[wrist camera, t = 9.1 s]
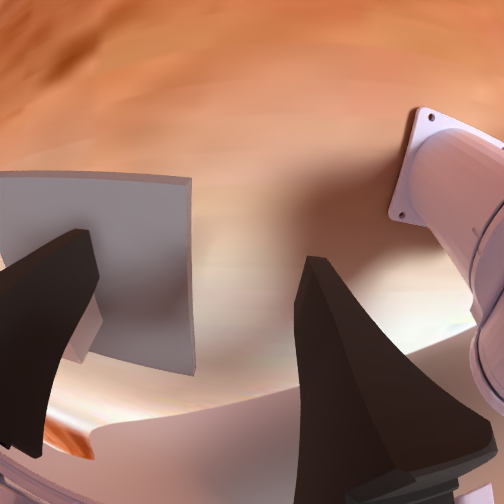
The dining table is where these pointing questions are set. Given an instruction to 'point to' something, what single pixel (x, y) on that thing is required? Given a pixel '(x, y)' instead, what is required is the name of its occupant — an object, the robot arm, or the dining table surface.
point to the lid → (115, 257)
